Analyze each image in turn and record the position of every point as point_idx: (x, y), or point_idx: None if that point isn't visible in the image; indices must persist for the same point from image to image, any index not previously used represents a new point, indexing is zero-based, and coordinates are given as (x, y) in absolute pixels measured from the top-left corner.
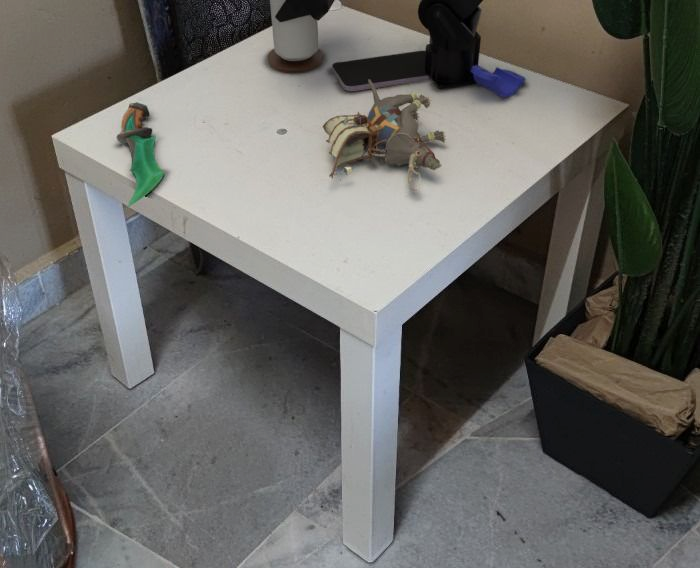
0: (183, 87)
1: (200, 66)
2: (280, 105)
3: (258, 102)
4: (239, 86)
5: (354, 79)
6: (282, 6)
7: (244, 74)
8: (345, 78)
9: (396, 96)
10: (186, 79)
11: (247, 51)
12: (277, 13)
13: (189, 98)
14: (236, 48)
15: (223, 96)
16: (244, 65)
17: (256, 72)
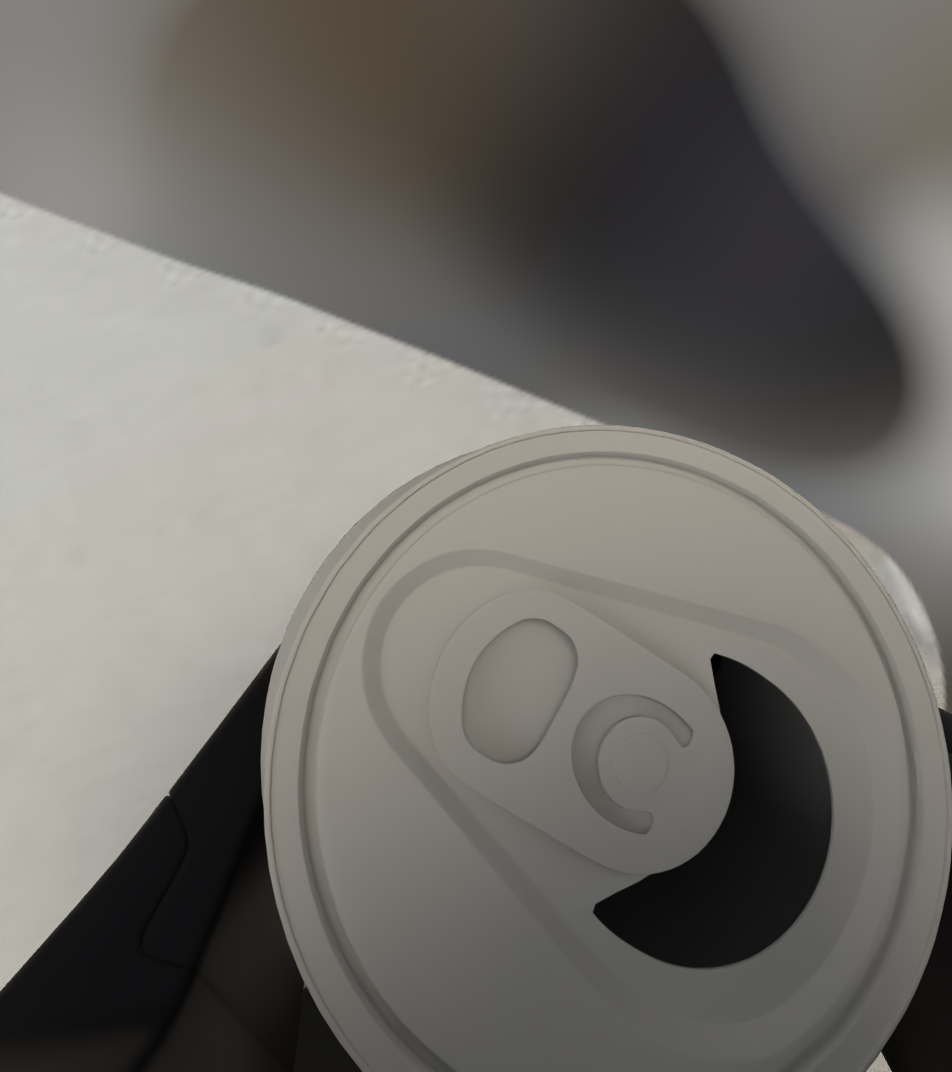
0: (103, 308)
1: (290, 307)
2: (44, 766)
3: (49, 656)
4: (170, 518)
5: (316, 1070)
6: (209, 742)
7: (278, 497)
8: (308, 1019)
9: None
10: (171, 295)
11: (468, 433)
12: (274, 654)
13: (16, 364)
14: (476, 383)
15: (67, 489)
16: (352, 467)
17: (309, 538)
